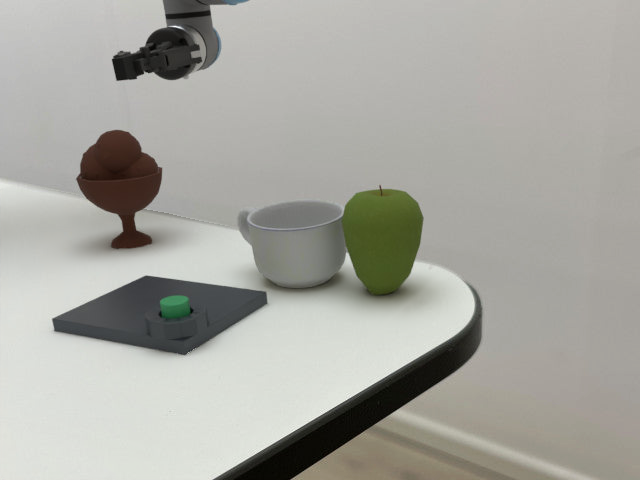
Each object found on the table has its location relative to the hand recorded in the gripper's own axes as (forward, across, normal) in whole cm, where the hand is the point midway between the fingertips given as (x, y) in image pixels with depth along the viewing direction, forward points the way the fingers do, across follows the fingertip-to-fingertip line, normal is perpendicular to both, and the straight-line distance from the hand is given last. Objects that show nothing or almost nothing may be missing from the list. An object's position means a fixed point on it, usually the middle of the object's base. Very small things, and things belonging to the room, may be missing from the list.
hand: (119, 69), depth 100 cm
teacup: (+21, -24, -22) cm, 39 cm away
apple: (+26, -34, -23) cm, 49 cm away
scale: (+33, -13, -21) cm, 41 cm away
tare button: (+39, -16, -19) cm, 47 cm away
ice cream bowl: (+6, +1, -22) cm, 23 cm away
